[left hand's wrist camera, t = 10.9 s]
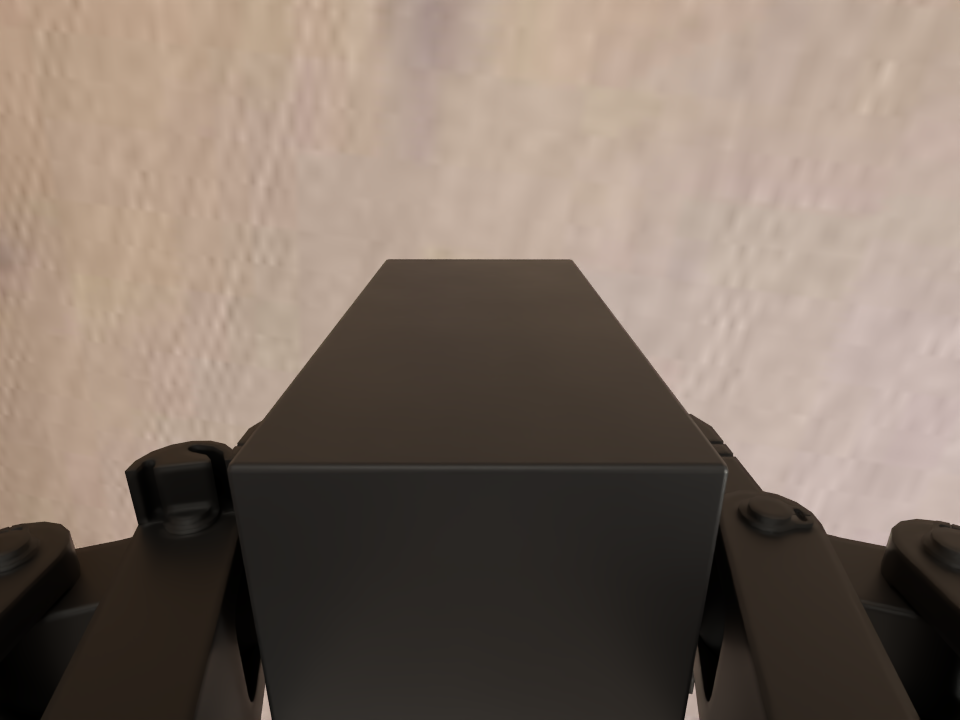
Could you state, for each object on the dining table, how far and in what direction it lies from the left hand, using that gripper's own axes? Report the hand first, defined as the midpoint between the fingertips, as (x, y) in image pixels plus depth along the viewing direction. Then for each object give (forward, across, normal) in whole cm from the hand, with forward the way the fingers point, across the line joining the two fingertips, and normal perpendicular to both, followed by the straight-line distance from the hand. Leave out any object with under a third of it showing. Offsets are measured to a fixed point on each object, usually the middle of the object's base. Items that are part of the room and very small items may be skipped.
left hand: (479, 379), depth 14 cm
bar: (+1, 0, -11) cm, 11 cm away
